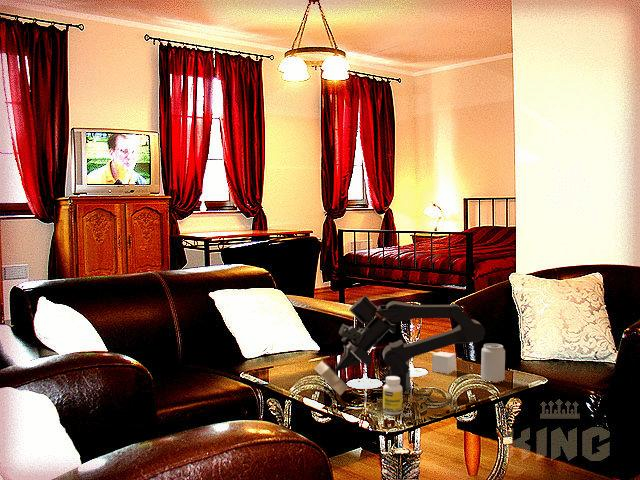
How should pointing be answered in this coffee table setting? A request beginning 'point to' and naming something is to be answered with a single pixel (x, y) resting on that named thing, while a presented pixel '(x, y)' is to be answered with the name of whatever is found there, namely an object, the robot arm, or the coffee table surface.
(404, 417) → the coffee table surface
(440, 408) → the coffee table surface
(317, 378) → the coffee table surface
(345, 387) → the tile
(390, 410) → the supplement bottle
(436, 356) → the white cube
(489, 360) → the can
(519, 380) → the coffee table surface
